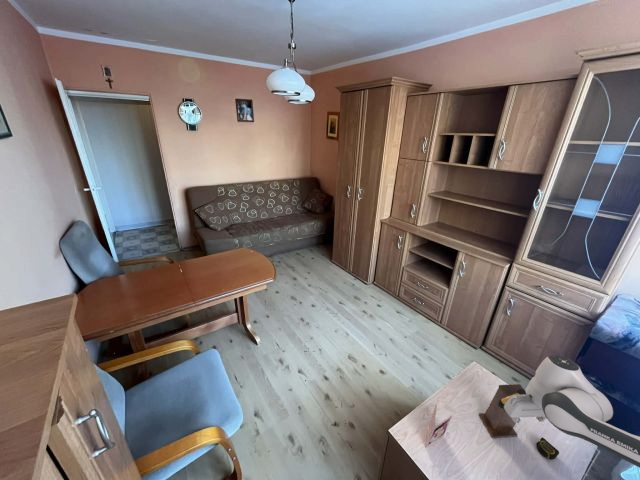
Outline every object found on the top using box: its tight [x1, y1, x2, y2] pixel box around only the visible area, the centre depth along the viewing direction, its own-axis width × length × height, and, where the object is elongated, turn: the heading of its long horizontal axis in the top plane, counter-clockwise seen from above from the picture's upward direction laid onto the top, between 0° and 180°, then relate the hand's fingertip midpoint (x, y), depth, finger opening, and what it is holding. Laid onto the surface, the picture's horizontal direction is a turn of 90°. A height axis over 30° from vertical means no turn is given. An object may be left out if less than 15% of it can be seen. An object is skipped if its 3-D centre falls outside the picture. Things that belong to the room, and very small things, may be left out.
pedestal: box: [478, 383, 525, 439], centre depth 119 cm, size 10×12×24 cm
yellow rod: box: [498, 388, 526, 409], centre depth 109 cm, size 13×3×4 cm, turn 109°
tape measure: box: [535, 437, 560, 461], centre depth 114 cm, size 7×7×4 cm
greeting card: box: [424, 403, 453, 448], centre depth 115 cm, size 11×7×15 cm, turn 117°
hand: (527, 420), depth 94 cm, fingers open, 8 cm apart
